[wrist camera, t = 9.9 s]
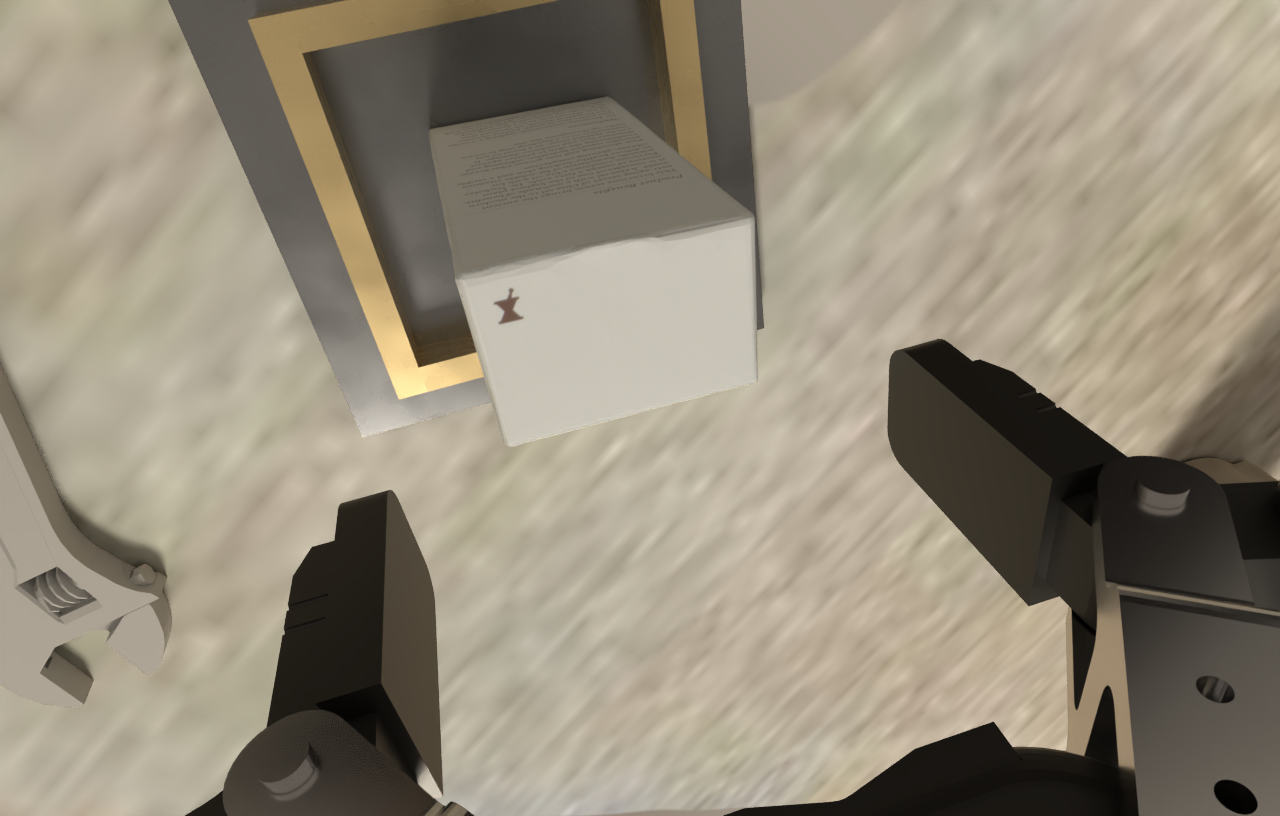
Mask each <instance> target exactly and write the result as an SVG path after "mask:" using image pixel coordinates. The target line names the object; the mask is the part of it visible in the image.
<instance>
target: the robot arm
mask: <svg viewBox="0 0 1280 816" xmlns="http://www.w3.org/2000/svg"><path fill="white" fill-rule="evenodd" d="M888 437H889V442H890V445H891V448H892V451H893V453H894V455H895V457H896V459H897V461H898V462H899V464H900V465H901V466H902V467H903V468H904V470H905V471H906V472H907V473H908V474H909V475H910V476H911V477H912V478H913V479H914V481H915V482H916V483H917V484H918V485H919V486H920V487H921V488H922V489H923V490H924V492H925V493H926V494H927V495H928V496H929V497H930V498H931V499H932V500H933V501H934V503H935V504H936V505H937V506H938V507H939V508H940V509H941V510H942V511H943V512H944V514H945V515H946V516H947V517H948V518H949V519H950V520H951V521H952V522H953V523H954V524H955V526H956V527H957V528H958V529H959V530H960V531H961V532H962V533H963V534H964V535H965V537H966V538H967V539H968V540H969V541H970V542H971V543H972V544H973V545H974V546H975V548H976V549H977V550H978V551H979V552H980V553H981V554H982V555H983V556H984V557H985V559H986V560H987V561H988V562H989V563H990V564H991V565H992V566H993V567H994V568H995V570H996V571H997V572H998V573H999V574H1000V575H1001V576H1002V577H1003V578H1004V579H1005V581H1006V582H1007V583H1008V584H1009V585H1010V586H1011V587H1012V588H1013V589H1014V590H1015V591H1016V593H1017V594H1018V595H1019V596H1020V597H1021V598H1022V599H1023V600H1024V601H1025V602H1026V604H1027V605H1028V606H1031V605H1034V604H1037V603H1040V602H1043V601H1046V600H1049V599H1052V598H1055V597H1058V596H1060V597H1061V598H1062V599H1063V600H1064V601H1065V602H1066V603H1067V604H1068V605H1069V608H1068V613H1067V617H1066V654H1067V700H1068V738H1067V749H1066V751H1060V750H1054V749H1048V748H1037V747H1012V746H1011V745H1010V743H1009V742H1008V741H1007V739H1006V738H1005V736H1004V735H1003V734H1002V732H1001V731H1000V730H999V728H998V727H997V726H996V724H995V723H994V722H991V723H988V724H986V725H983V726H980V727H977V728H974V729H971V730H968V731H965V732H963V733H960V734H957V735H954V736H951V737H948V738H945V739H942V740H940V741H937V742H934V743H931V744H928V745H925V746H922V747H919V748H917V749H914V750H913V751H911V752H910V753H909V754H907V755H906V756H905V757H903V758H902V759H900V760H899V761H898V762H896V763H895V764H893V765H892V766H891V767H889V768H888V769H886V770H885V771H884V772H882V773H881V774H879V775H878V776H877V777H875V778H874V779H872V780H871V781H870V782H868V783H867V784H865V785H864V786H863V787H861V788H860V789H859V790H857V791H856V792H854V793H853V794H852V795H850V796H848V797H847V798H845V799H842V800H839V801H834V802H824V803H810V804H796V805H783V806H769V807H755V808H744V809H741V810H738V811H735V812H733V813H730V814H727V815H724V816H1280V481H1278V480H1276V479H1275V478H1273V477H1272V476H1270V475H1268V474H1267V473H1265V472H1264V471H1262V470H1261V469H1259V468H1258V467H1256V466H1254V465H1253V464H1251V463H1250V462H1248V461H1243V462H1240V463H1236V464H1231V463H1228V462H1226V461H1224V460H1222V459H1218V458H1201V459H1195V460H1191V461H1188V462H1185V463H1182V462H1179V461H1176V460H1172V459H1168V458H1162V457H1156V456H1132V457H1127V456H1125V455H1124V454H1123V453H1121V452H1120V451H1119V450H1117V449H1116V448H1115V447H1113V446H1112V445H1111V444H1109V443H1108V442H1106V441H1105V440H1104V439H1102V438H1101V437H1100V436H1098V435H1097V434H1096V433H1094V432H1093V431H1092V430H1090V429H1089V428H1088V427H1086V426H1085V425H1084V424H1082V423H1081V422H1079V421H1078V420H1077V419H1075V418H1074V417H1073V416H1071V415H1070V414H1069V413H1067V412H1066V411H1065V410H1063V409H1062V408H1061V407H1059V408H1056V406H1055V403H1054V402H1053V401H1051V400H1050V399H1048V398H1047V397H1046V396H1044V395H1043V394H1042V393H1037V392H1036V389H1035V388H1034V387H1032V386H1031V385H1030V384H1028V383H1027V382H1026V381H1024V380H1023V379H1021V378H1020V377H1019V376H1017V375H1016V374H1015V373H1013V372H1012V371H1009V370H1007V369H1004V368H1001V367H999V366H996V365H993V364H991V363H988V362H985V361H982V360H980V359H979V360H976V361H972V360H970V359H969V358H968V357H966V356H965V355H964V354H963V353H961V352H960V351H959V350H957V349H956V348H955V347H953V346H952V345H951V344H950V343H948V342H947V341H945V340H943V339H937V340H933V341H929V342H926V343H922V344H919V345H915V346H911V347H908V348H904V349H901V350H897V351H895V352H894V353H893V354H892V356H891V359H890V365H889V396H888ZM288 607H289V611H287V613H286V619H285V625H284V631H285V635H283V636H282V642H281V648H280V654H279V659H278V665H277V671H276V677H275V683H274V688H273V694H272V700H271V706H270V711H269V717H268V723H267V727H266V729H264V730H263V731H262V732H260V733H259V734H258V735H257V736H256V737H255V738H253V739H252V740H251V741H250V742H249V743H248V744H247V745H246V747H245V748H244V749H243V750H242V751H241V752H240V754H239V755H238V757H237V758H236V760H235V761H234V763H233V764H232V766H231V768H230V770H229V772H228V775H227V778H226V780H225V783H224V789H223V791H221V792H220V793H219V794H218V795H216V796H215V797H214V798H212V799H211V800H209V801H208V802H206V803H205V804H203V805H202V806H200V807H198V808H197V809H195V810H193V811H192V812H190V813H188V814H187V815H185V816H474V815H473V814H472V813H470V812H469V811H468V810H466V809H465V808H464V807H462V806H461V805H459V804H457V803H455V802H450V803H449V804H448V805H447V806H444V805H442V804H441V803H439V802H438V801H437V800H436V799H437V798H440V797H443V782H442V758H441V734H440V710H439V687H438V663H437V639H436V615H435V598H434V592H433V586H432V582H431V578H430V574H429V571H428V568H427V565H426V563H425V560H424V558H423V555H422V553H421V551H420V549H419V546H418V544H417V542H416V539H415V537H414V535H413V532H412V530H411V528H410V526H409V523H408V521H407V519H406V516H405V514H404V512H403V509H402V507H401V505H400V503H399V500H398V498H397V496H396V495H395V493H394V492H393V491H392V490H388V491H384V492H381V493H377V494H374V495H370V496H366V497H363V498H359V499H356V500H352V501H348V502H345V503H341V504H340V505H339V508H338V515H337V524H336V533H335V541H332V542H328V543H325V544H321V545H318V546H314V547H312V548H311V549H310V551H309V552H308V554H307V555H306V557H305V559H304V560H303V562H302V563H301V565H300V566H299V568H298V569H297V571H296V572H295V574H294V575H293V579H292V585H291V590H290V596H289V602H288Z"/></svg>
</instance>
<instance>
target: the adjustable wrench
mask: <svg viewBox="0 0 1280 816" xmlns="http://www.w3.org/2000/svg"><path fill="white" fill-rule="evenodd" d="M166 579H167V576H165V575H163V574H161V573H160V572H155V571H153V569H152V568H151V566H149V565H147V564H143V565H140V566H138V567H135V566H132V565H130V564H128V563H125V562H123V561H122V560H120V559H118V558H117V557H115V556H113V555H111V554H110V553H108V552H106V551H104V550H103V549H101V548H99V547H97V546H96V545H95V544H94V543H92V542H91V541H90V540H88V539H87V538H86V537H85V536H84V535H83V534H82V533H81V532H80V531H79V529H78V528H77V527H76V526H75V525H74V524H73V522H72V521H71V519H70V517H69V516H68V514H67V512H66V511H65V509H64V507H63V505H62V503H61V500H60V498H59V496H58V493H57V491H56V489H55V487H54V484H53V482H52V480H51V477H50V475H49V473H48V471H47V468H46V466H45V464H44V462H43V459H42V457H41V455H40V452H39V450H38V448H37V446H36V443H35V441H34V439H33V436H32V434H31V432H30V430H29V427H28V425H27V423H26V421H25V418H24V416H23V414H22V411H21V409H20V407H19V405H18V402H17V400H16V398H15V395H14V393H13V391H12V389H11V386H10V384H9V382H8V379H7V377H6V375H5V373H4V370H3V368H2V366H1V364H0V685H2V686H3V687H4V688H5V689H7V690H9V691H10V692H12V693H14V694H16V695H18V696H20V697H23V698H26V699H29V700H32V701H35V702H38V703H41V704H44V705H51V706H59V707H66V708H71V707H77V706H80V705H83V704H84V703H85V700H86V698H87V696H88V693H89V691H90V688H91V686H92V683H93V681H94V680H93V679H91V678H90V677H89V676H87V675H86V674H84V673H83V672H82V671H80V670H79V669H77V668H76V667H75V666H73V665H72V664H71V663H69V662H68V661H66V660H65V659H64V658H62V657H61V656H59V655H58V654H57V653H55V652H54V651H53V650H54V648H55V647H57V646H60V645H62V644H64V643H66V642H69V641H71V640H73V639H75V638H77V637H79V636H81V635H84V634H86V633H88V632H90V631H92V630H108V631H110V634H109V636H108V639H107V641H106V644H107V645H108V646H110V647H111V648H112V649H113V650H115V651H116V652H117V653H119V654H120V655H121V656H122V657H124V658H125V659H126V660H128V661H129V662H130V663H131V664H133V665H134V666H135V667H137V668H138V669H139V670H141V671H142V672H143V673H144V674H146V675H148V674H150V673H152V672H154V671H156V670H157V669H158V667H159V665H160V663H161V661H162V658H163V655H164V652H165V649H166V646H167V642H168V639H169V636H170V632H171V627H172V616H171V610H170V607H169V604H168V601H167V599H166V597H165V594H164V593H163V591H162V590H163V588H164V585H165V582H166Z"/></svg>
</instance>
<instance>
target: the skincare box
mask: <svg viewBox="0 0 1280 816" xmlns="http://www.w3.org/2000/svg"><path fill="white" fill-rule="evenodd" d="M429 141H430V146H431V151H432V156H433V161H434V166H435V172H436V177H437V183H438V188H439V193H440V198H441V203H442V208H443V213H444V219H445V223H446V228H447V233H448V238H449V242H450V246H451V251H452V257H453V265H454V272H455V281H456V284H457V287H458V291H459V294H460V297H461V300H462V304H463V307H464V310H465V314H466V317H467V321H468V324H469V327H470V331H471V334H472V338H473V341H474V344H475V348H476V351H477V355H478V358H479V361H480V365H481V368H482V372H483V375H484V379H485V382H486V385H487V389H488V392H489V395H490V399H491V402H492V406H493V409H494V412H495V416H496V419H497V423H498V426H499V429H500V433H501V436H502V439H503V441H504V443H505V444H506V445H507V446H511V447H513V446H517V445H520V444H524V443H527V442H531V441H535V440H539V439H543V438H546V437H550V436H554V435H558V434H562V433H566V432H570V431H574V430H578V429H581V428H585V427H589V426H592V425H596V424H600V423H604V422H608V421H611V420H615V419H619V418H622V417H626V416H630V415H634V414H637V413H641V412H645V411H648V410H652V409H656V408H660V407H663V406H667V405H671V404H675V403H679V402H683V401H687V400H691V399H694V398H698V397H702V396H706V395H710V394H713V393H717V392H721V391H725V390H729V389H733V388H737V387H741V386H745V385H750V384H754V383H756V382H757V381H758V372H757V312H756V257H755V219H754V215H753V213H752V212H750V211H749V210H748V209H747V208H745V207H744V206H743V205H741V204H740V203H739V202H738V201H736V200H735V199H734V198H733V197H731V196H730V195H729V194H728V193H726V192H725V191H724V190H723V189H722V188H720V187H719V186H718V185H716V184H715V183H714V182H713V181H711V180H710V179H709V178H708V177H707V176H705V175H704V174H703V173H702V172H701V171H699V170H698V169H697V168H696V167H694V166H693V165H692V164H691V163H690V162H688V161H687V160H686V159H685V158H683V157H682V156H681V155H680V154H679V153H678V152H677V151H675V150H674V149H673V148H672V147H671V146H669V145H668V144H667V143H666V142H664V141H663V140H662V139H661V138H660V137H658V136H657V135H656V134H655V133H654V132H652V131H651V130H650V129H649V128H648V127H646V126H645V125H644V124H643V123H642V122H640V121H639V120H638V119H637V118H636V117H635V116H633V115H632V114H631V113H630V112H628V111H627V110H626V109H625V108H624V107H622V106H621V105H620V104H619V103H617V102H616V101H615V100H614V99H613V98H611V97H609V96H606V97H602V98H596V99H591V100H585V101H580V102H574V103H569V104H563V105H558V106H552V107H547V108H542V109H537V110H531V111H525V112H520V113H515V114H509V115H504V116H498V117H493V118H488V119H483V120H477V121H472V122H467V123H461V124H456V125H450V126H445V127H439V128H434V129H430V130H429Z"/></svg>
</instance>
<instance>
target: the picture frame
mask: <svg viewBox="0 0 1280 816" xmlns="http://www.w3.org/2000/svg"><path fill="white" fill-rule="evenodd" d="M168 1H169V3H170V5H171V7H172V10H173V12H174V14H175V16H176V19H177V21H178V23H179V25H180V28H181V30H182V32H183V34H184V37H185V39H186V41H187V43H188V46H189V48H190V50H191V52H192V55H193V57H194V59H195V61H196V64H197V66H198V68H199V70H200V73H201V75H202V77H203V79H204V82H205V84H206V86H207V88H208V90H209V93H210V95H211V97H212V99H213V102H214V104H215V106H216V108H217V111H218V113H219V115H220V117H221V120H222V122H223V124H224V126H225V129H226V131H227V133H228V135H229V138H230V140H231V142H232V144H233V147H234V149H235V151H236V153H237V156H238V158H239V160H240V162H241V165H242V167H243V169H244V171H245V174H246V176H247V178H248V180H249V183H250V185H251V187H252V189H253V192H254V194H255V196H256V198H257V201H258V203H259V205H260V207H261V210H262V212H263V214H264V216H265V219H266V221H267V223H268V225H269V228H270V230H271V232H272V234H273V237H274V239H275V241H276V243H277V246H278V248H279V250H280V252H281V255H282V257H283V259H284V261H285V264H286V266H287V268H288V270H289V273H290V275H291V277H292V279H293V282H294V284H295V286H296V288H297V291H298V293H299V295H300V297H301V299H302V302H303V304H304V306H305V308H306V311H307V313H308V315H309V317H310V320H311V322H312V324H313V326H314V329H315V331H316V333H317V335H318V338H319V340H320V342H321V344H322V347H323V349H324V351H325V353H326V356H327V358H328V360H329V362H330V365H331V367H332V369H333V371H334V374H335V376H336V378H337V380H338V383H339V385H340V387H341V389H342V392H343V394H344V396H345V398H346V401H347V403H348V405H349V407H350V410H351V412H352V414H353V416H354V419H355V421H356V423H357V425H358V428H359V430H360V432H361V434H362V437H366V436H370V435H374V434H377V433H381V432H385V431H388V430H392V429H396V428H399V427H403V426H407V425H410V424H414V423H418V422H421V421H425V420H429V419H432V418H436V417H440V416H443V415H447V414H451V413H454V412H458V411H462V410H465V409H469V408H473V407H476V406H480V405H484V404H487V403H491V399H490V395H489V392H488V389H487V385H486V382H485V379H484V375H483V372H482V368H481V365H480V361H479V358H478V355H477V351H476V348H475V344H474V341H473V338H472V334H471V331H470V327H469V324H468V321H467V317H466V314H465V310H464V307H463V304H462V300H461V297H460V294H459V291H458V287H457V284H456V281H455V272H454V265H453V257H452V251H451V246H450V242H449V238H448V233H447V228H446V223H445V219H444V213H443V208H442V203H441V198H440V193H439V188H438V183H437V177H436V172H435V166H434V161H433V156H432V151H431V146H430V141H429V130H430V129H434V128H439V127H445V126H450V125H456V124H461V123H467V122H472V121H477V120H483V119H488V118H493V117H498V116H504V115H509V114H515V113H520V112H525V111H531V110H537V109H542V108H547V107H552V106H558V105H563V104H569V103H574V102H580V101H585V100H591V99H596V98H602V97H606V96H609V97H611V98H613V99H614V100H615V101H616V102H617V103H619V104H620V105H621V106H622V107H624V108H625V109H626V110H627V111H628V112H630V113H631V114H632V115H633V116H635V117H636V118H637V119H638V120H639V121H640V122H642V123H643V124H644V125H645V126H646V127H648V128H649V129H650V130H651V131H652V132H654V133H655V134H656V135H657V136H658V137H660V138H661V139H662V140H663V141H664V142H666V143H667V144H668V145H669V146H671V147H672V148H673V149H674V150H675V151H677V152H678V153H679V154H680V155H681V156H682V157H683V158H685V159H686V160H687V161H688V162H690V163H691V164H692V165H693V166H694V167H696V168H697V169H698V170H699V171H701V172H702V173H703V174H704V175H705V176H707V177H708V178H709V179H710V180H711V181H713V182H714V183H715V184H716V185H718V186H719V187H720V188H722V189H723V190H724V191H725V192H726V193H728V194H729V195H730V196H731V197H733V198H734V199H735V200H736V201H738V202H739V203H740V204H741V205H743V206H744V207H745V208H747V209H748V210H749V211H750V212H752V213H753V215H754V219H755V257H756V312H757V330H759V329H762V328H764V321H763V307H762V293H761V279H760V265H759V251H758V237H757V223H756V209H755V195H754V181H753V167H752V153H751V139H750V125H749V111H748V97H747V83H746V69H745V55H744V41H743V27H742V13H741V0H168Z"/></svg>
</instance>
